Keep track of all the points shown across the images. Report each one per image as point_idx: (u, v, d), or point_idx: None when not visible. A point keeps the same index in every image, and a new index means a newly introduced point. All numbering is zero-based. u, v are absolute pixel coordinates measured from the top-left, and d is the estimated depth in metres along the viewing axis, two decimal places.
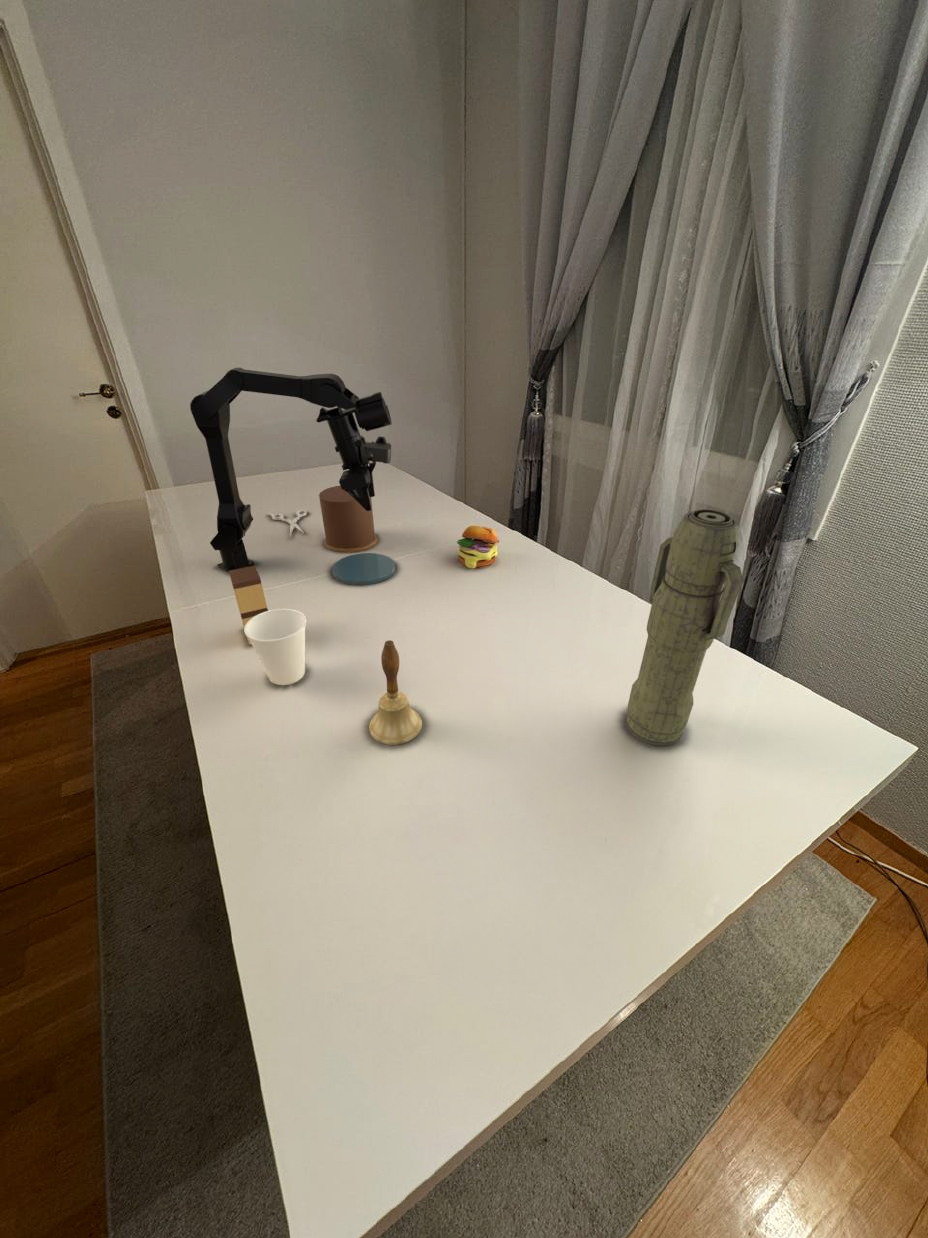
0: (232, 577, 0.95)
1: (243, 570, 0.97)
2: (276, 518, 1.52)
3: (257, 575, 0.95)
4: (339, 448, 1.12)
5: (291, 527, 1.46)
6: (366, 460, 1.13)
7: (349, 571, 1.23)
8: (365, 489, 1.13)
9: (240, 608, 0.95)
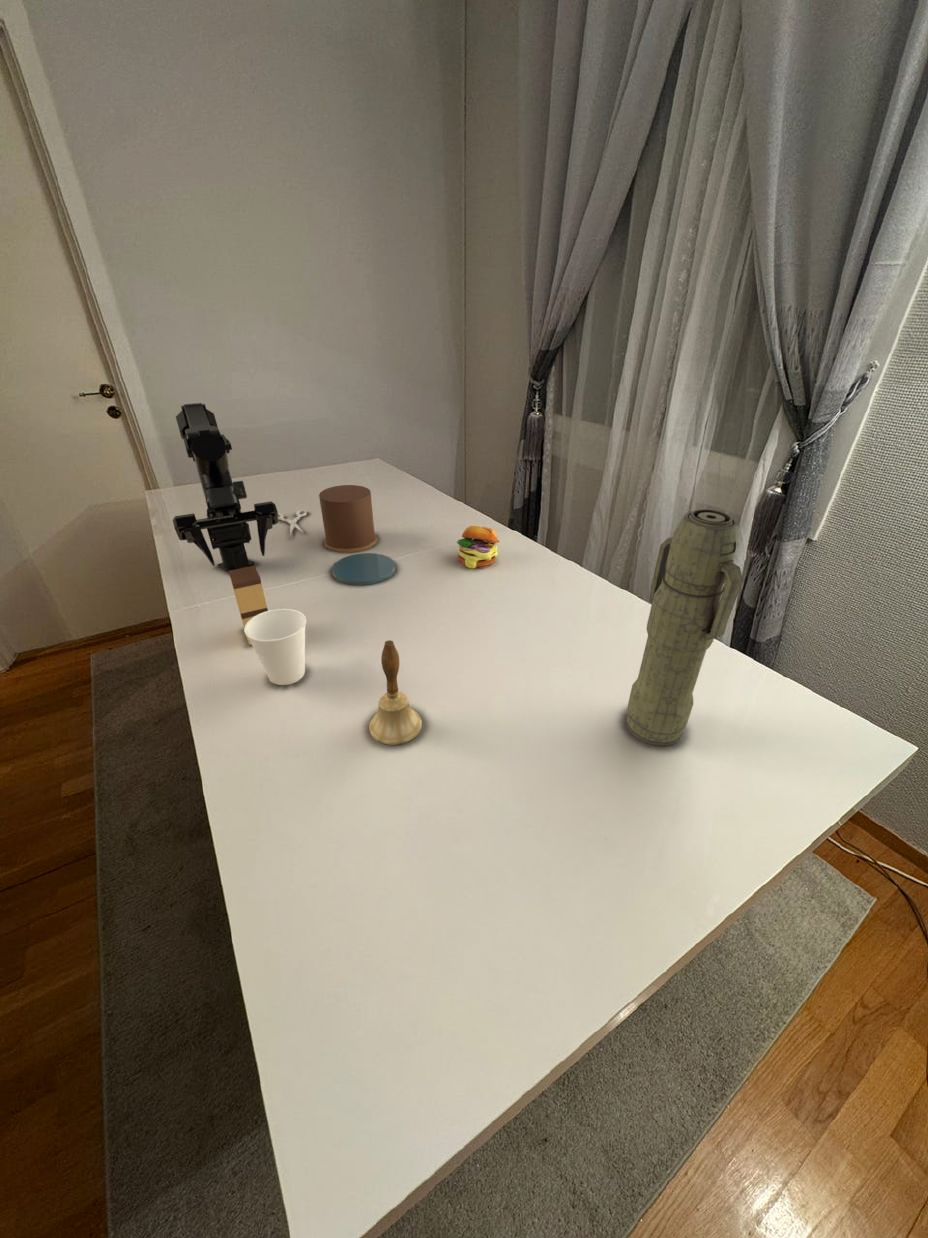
0: (232, 577, 0.95)
1: (243, 570, 0.97)
2: None
3: (257, 575, 0.95)
4: None
5: (291, 527, 1.46)
6: None
7: (349, 571, 1.23)
8: None
9: (240, 608, 0.95)
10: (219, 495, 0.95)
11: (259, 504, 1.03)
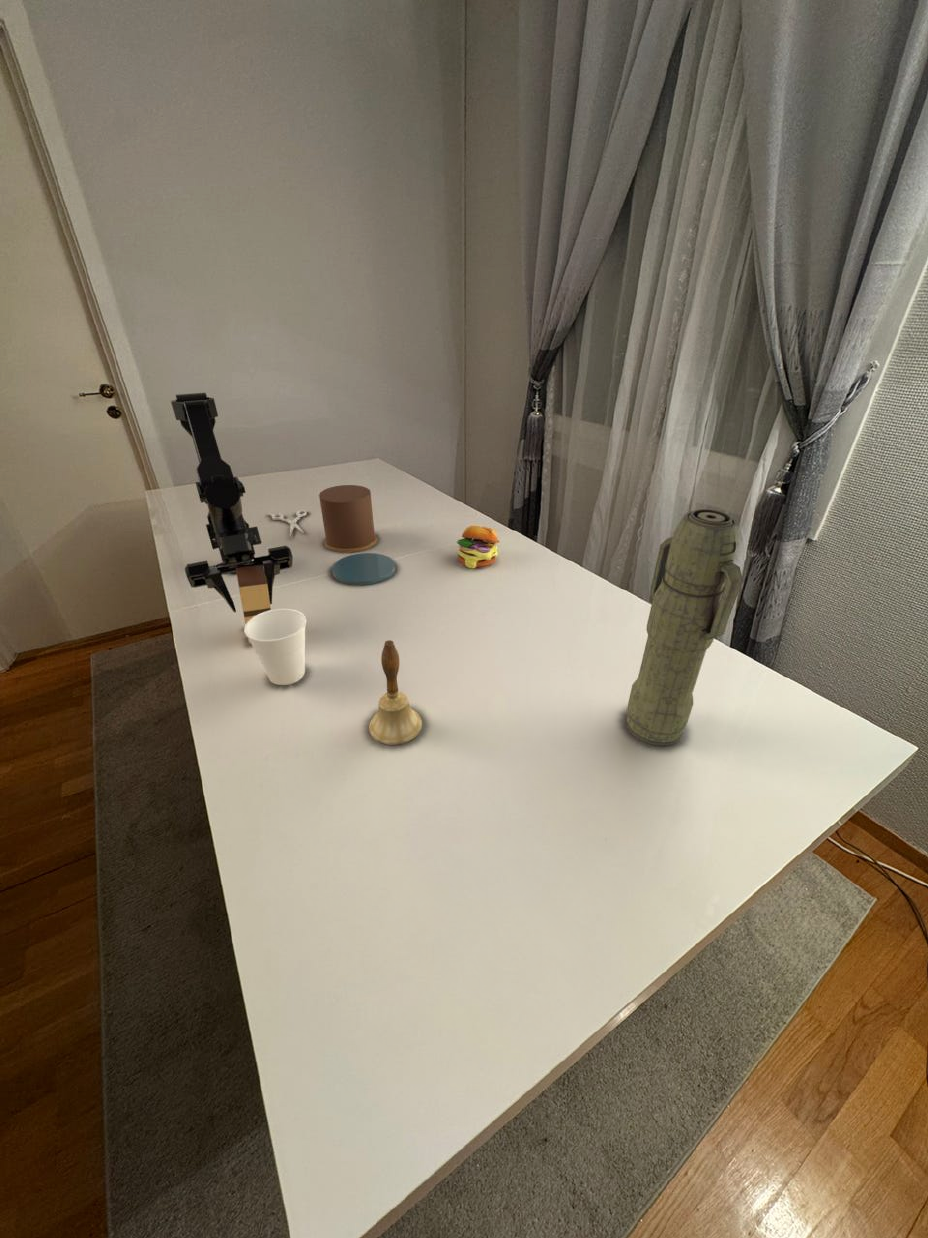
0: (238, 575, 0.95)
1: (250, 569, 0.97)
2: (276, 518, 1.52)
3: (263, 575, 0.95)
4: None
5: (291, 527, 1.46)
6: (220, 554, 0.96)
7: (349, 571, 1.23)
8: None
9: (243, 606, 0.95)
10: (233, 543, 0.92)
11: (273, 549, 0.99)
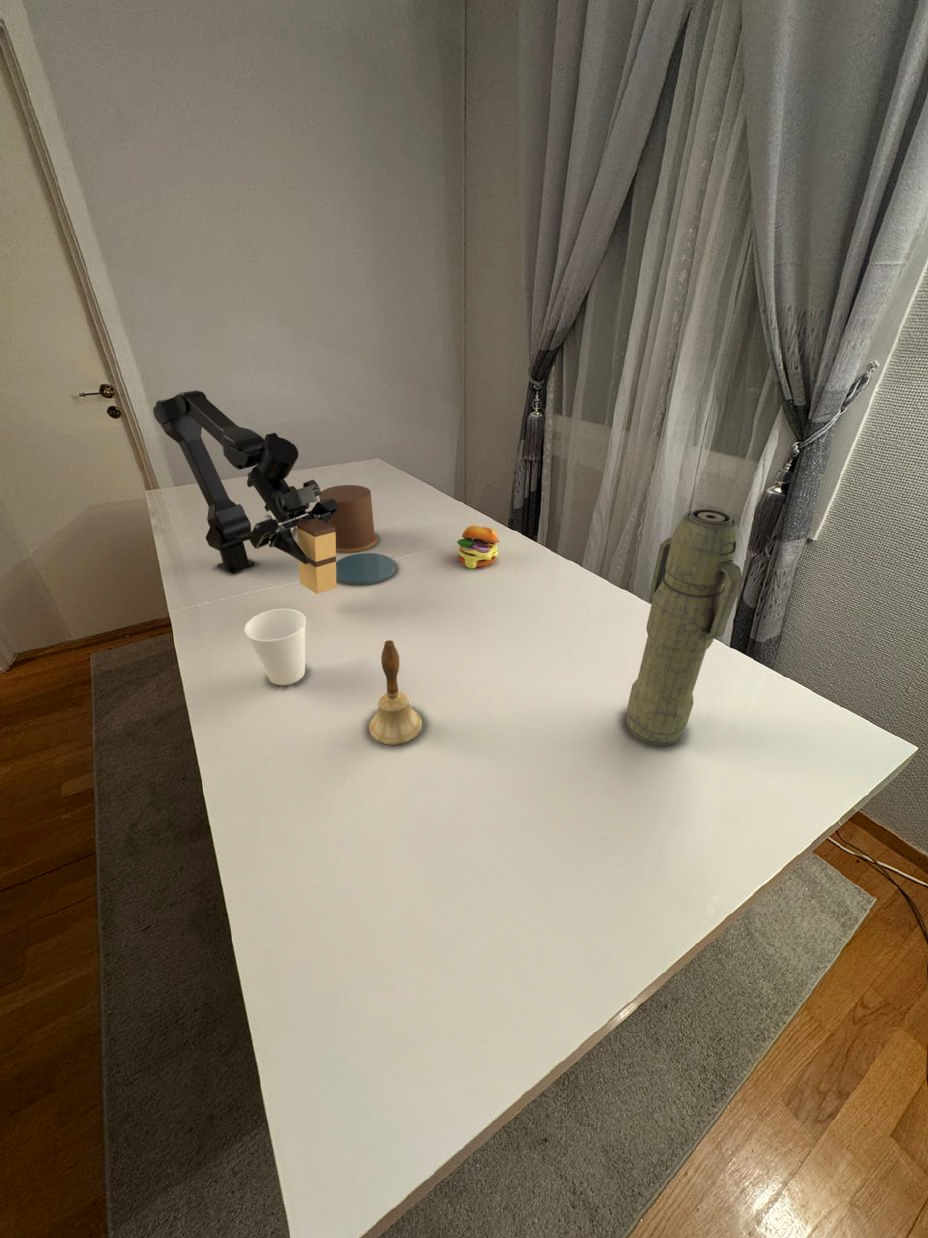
0: (307, 527, 1.00)
1: (311, 522, 1.03)
2: None
3: (329, 525, 1.02)
4: (266, 506, 1.03)
5: None
6: (282, 511, 0.99)
7: (349, 571, 1.23)
8: None
9: (316, 556, 1.01)
10: (303, 495, 0.97)
11: (323, 501, 1.06)
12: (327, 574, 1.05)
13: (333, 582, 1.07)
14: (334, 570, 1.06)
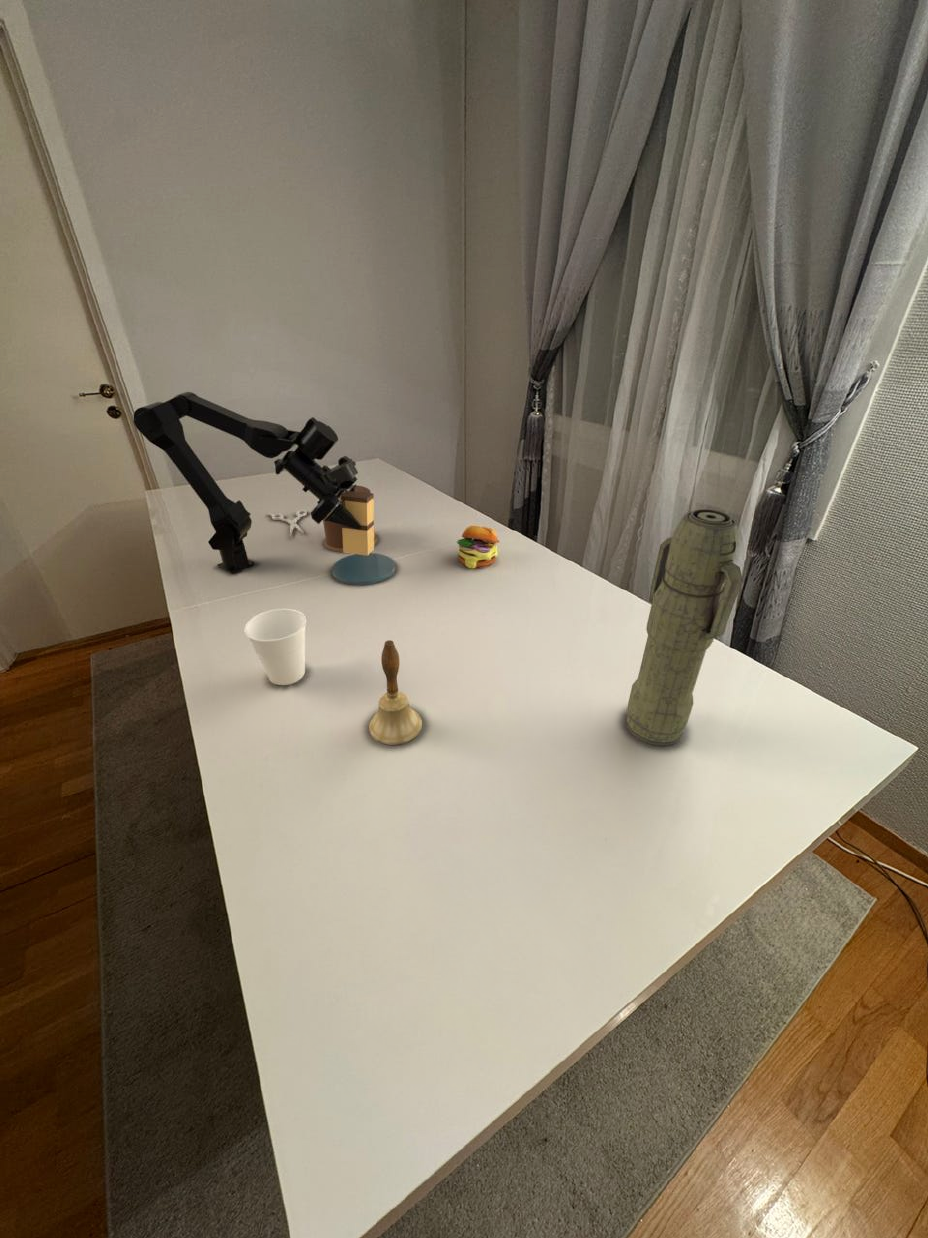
0: (354, 496, 1.14)
1: (350, 493, 1.17)
2: (276, 518, 1.52)
3: (366, 493, 1.18)
4: (306, 487, 1.13)
5: (291, 527, 1.46)
6: (332, 486, 1.12)
7: (349, 571, 1.23)
8: (342, 511, 1.12)
9: (367, 520, 1.16)
10: (351, 468, 1.12)
11: None
12: (371, 537, 1.21)
13: (373, 544, 1.23)
14: (373, 533, 1.22)
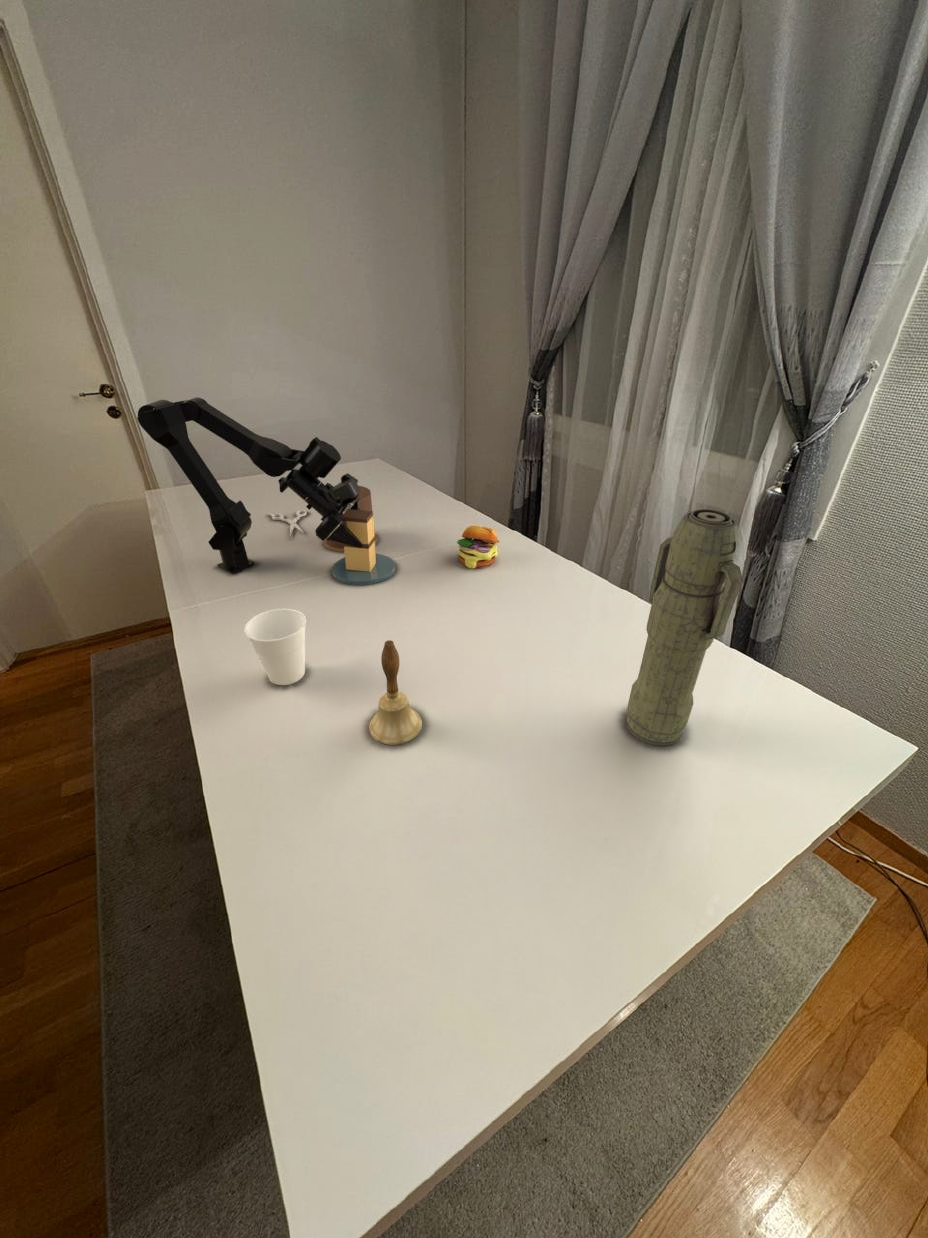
0: (354, 517, 1.16)
1: (350, 513, 1.18)
2: (276, 518, 1.52)
3: (366, 511, 1.20)
4: (309, 505, 1.15)
5: (291, 527, 1.46)
6: (335, 503, 1.14)
7: (349, 571, 1.23)
8: (344, 530, 1.14)
9: (368, 539, 1.19)
10: (354, 485, 1.14)
11: None
12: (372, 553, 1.23)
13: (374, 559, 1.26)
14: (374, 548, 1.24)
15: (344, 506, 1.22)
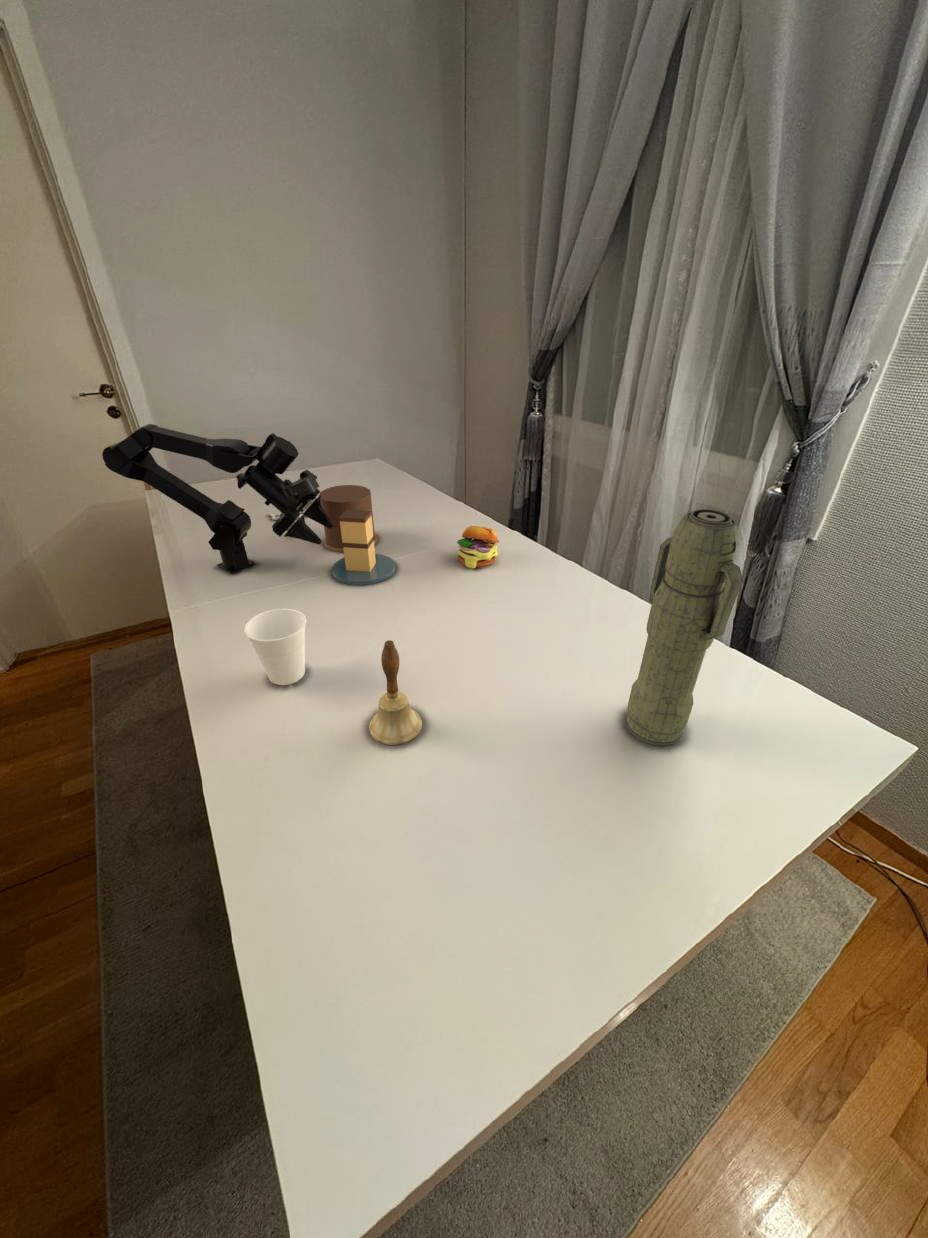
0: (352, 517, 1.16)
1: (348, 513, 1.18)
2: (276, 518, 1.52)
3: (364, 511, 1.20)
4: (268, 501, 1.15)
5: None
6: (293, 500, 1.14)
7: (349, 571, 1.23)
8: (302, 526, 1.14)
9: (367, 539, 1.19)
10: (312, 482, 1.14)
11: None
12: (372, 553, 1.23)
13: (374, 559, 1.26)
14: (374, 548, 1.25)
15: (304, 502, 1.22)
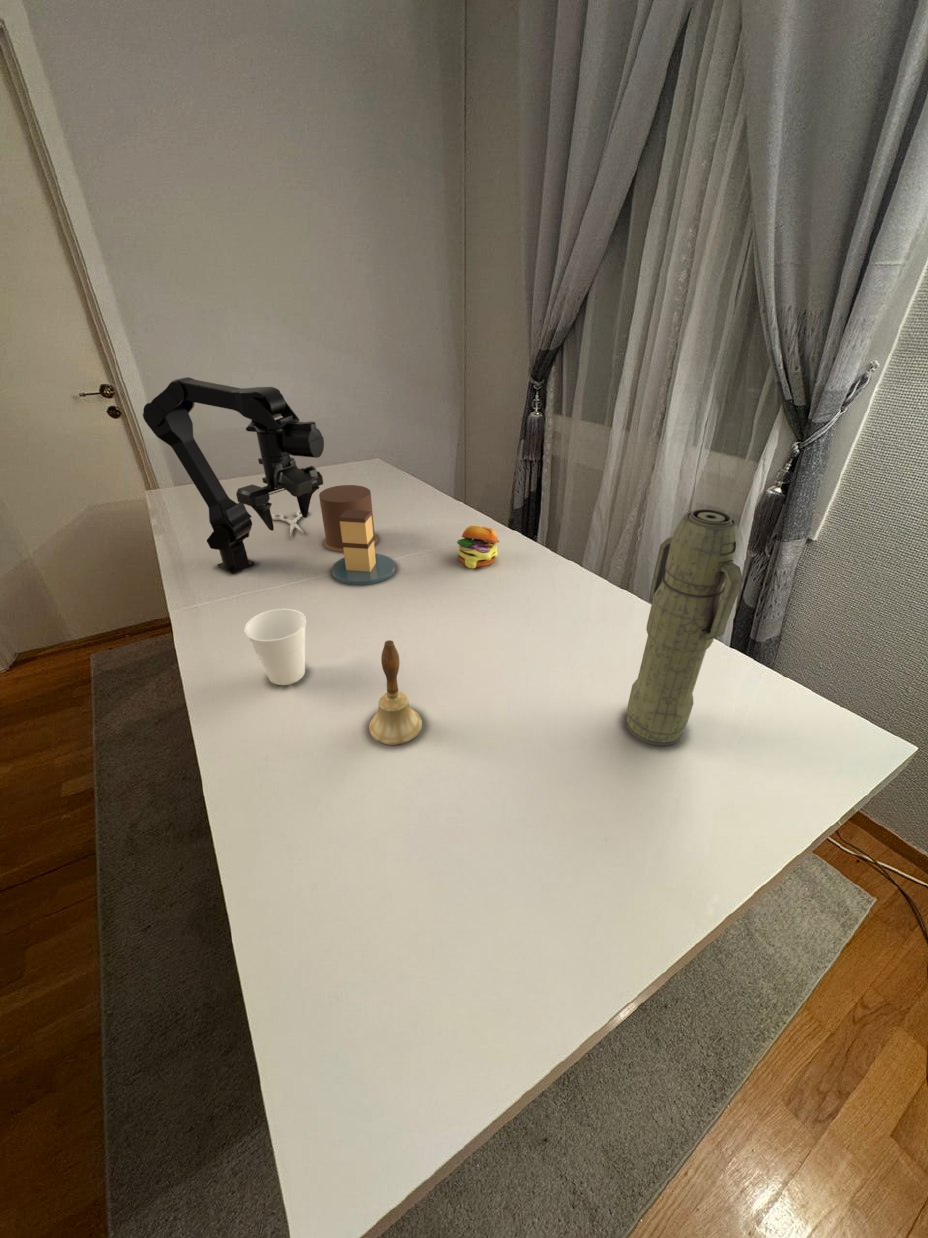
0: (352, 517, 1.16)
1: (348, 513, 1.18)
2: (276, 518, 1.52)
3: (364, 511, 1.20)
4: (261, 461, 1.09)
5: (291, 527, 1.46)
6: (277, 484, 1.08)
7: (349, 571, 1.23)
8: (262, 510, 1.09)
9: (367, 539, 1.19)
10: (303, 488, 1.07)
11: None
12: (372, 553, 1.23)
13: (374, 559, 1.26)
14: (374, 548, 1.25)
15: None
